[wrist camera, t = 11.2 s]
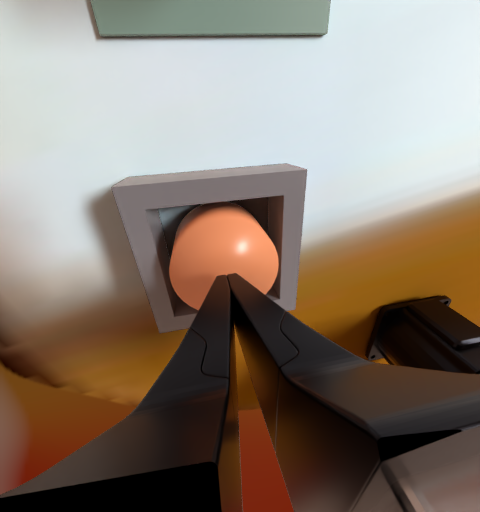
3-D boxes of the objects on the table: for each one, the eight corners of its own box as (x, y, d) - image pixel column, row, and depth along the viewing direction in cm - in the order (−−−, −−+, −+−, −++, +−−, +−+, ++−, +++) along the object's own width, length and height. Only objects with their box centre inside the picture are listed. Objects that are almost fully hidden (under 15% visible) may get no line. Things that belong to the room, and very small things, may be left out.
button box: (281, 285, 16) (295, 309, 13) (164, 304, 14) (159, 333, 12) (286, 163, 12) (306, 169, 9) (128, 176, 11) (111, 187, 8)
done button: (262, 274, 14) (277, 305, 12) (183, 286, 14) (181, 321, 11) (261, 196, 12) (280, 213, 9) (165, 206, 11) (156, 227, 9)
